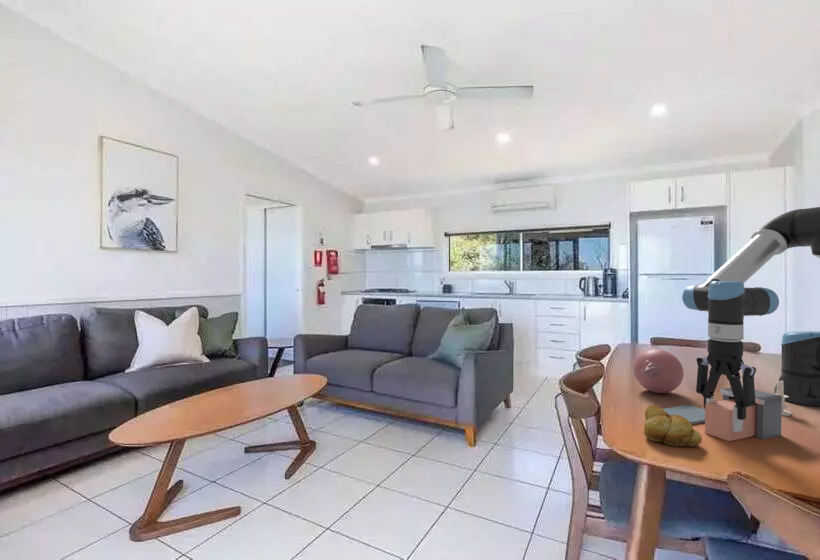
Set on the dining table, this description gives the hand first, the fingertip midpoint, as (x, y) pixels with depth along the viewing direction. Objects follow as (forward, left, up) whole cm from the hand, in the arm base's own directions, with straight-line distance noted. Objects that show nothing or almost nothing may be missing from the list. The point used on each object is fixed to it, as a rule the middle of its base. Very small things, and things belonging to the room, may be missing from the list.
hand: (723, 426), depth 111 cm
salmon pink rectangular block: (-4, 0, -2) cm, 5 cm away
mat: (-5, -14, -3) cm, 15 cm away
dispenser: (-11, 0, -3) cm, 11 cm away
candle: (-35, -6, -3) cm, 35 cm away
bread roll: (+16, -2, -3) cm, 17 cm away
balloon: (-17, -34, -3) cm, 38 cm away
